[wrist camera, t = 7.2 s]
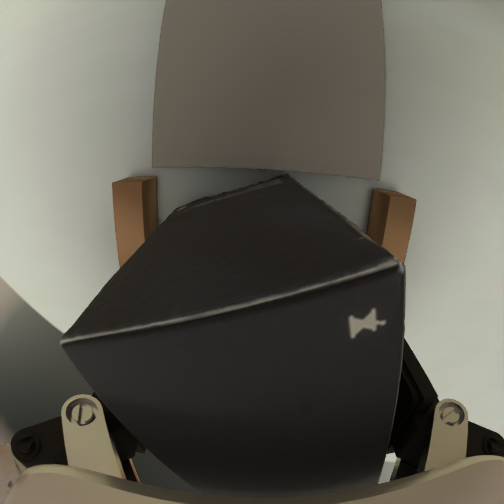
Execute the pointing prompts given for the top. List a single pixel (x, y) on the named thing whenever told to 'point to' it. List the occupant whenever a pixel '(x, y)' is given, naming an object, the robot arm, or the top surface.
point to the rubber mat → (271, 86)
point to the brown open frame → (145, 221)
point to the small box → (252, 344)
